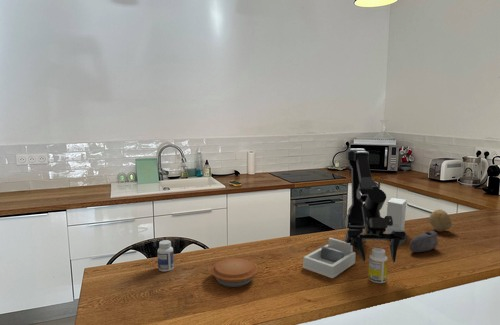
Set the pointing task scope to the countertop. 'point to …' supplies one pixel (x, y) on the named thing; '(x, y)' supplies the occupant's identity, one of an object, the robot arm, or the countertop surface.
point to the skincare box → (396, 214)
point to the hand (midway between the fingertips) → (379, 261)
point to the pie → (234, 272)
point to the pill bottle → (165, 256)
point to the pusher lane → (327, 266)
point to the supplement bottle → (378, 266)
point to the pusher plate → (331, 254)
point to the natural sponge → (440, 220)
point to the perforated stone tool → (424, 242)
